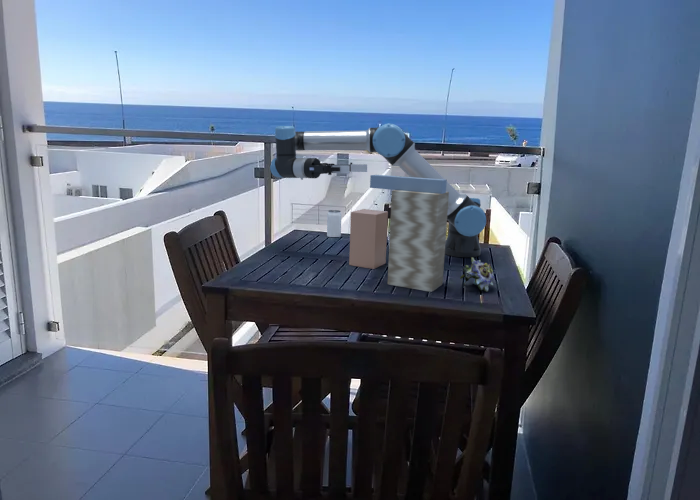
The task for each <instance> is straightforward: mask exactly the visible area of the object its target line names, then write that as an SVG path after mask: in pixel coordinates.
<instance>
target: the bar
mask: <svg viewBox="0 0 700 500" xmlns="http://www.w3.org/2000/svg"><path fill="white" fill-rule="evenodd" d="M447 182H448V180H447V179H446V178H444V179H431V178H417V177H409V176H398V175H386V174H385V175H384V174H370V178H369V183H370V184H369V188H371V189H380V190H391V191H393V190H402V191H414V192H426V193H438V194H443V193H446V184H447Z"/></svg>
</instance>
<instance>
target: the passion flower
mask: <svg viewBox="0 0 700 500" xmlns="http://www.w3.org/2000/svg"><path fill="white" fill-rule="evenodd" d="M470 258H471V265H467V264H466V265H464V267H463V268H462V272H463V274H462V275H461V276H460V277H459V278H460V280H462V279H464V280H463V281H464V282H463V286H464V287H465V285H466V282H468V281H470V279H473V284H474V285H475V286H477V287H478V289H479V290H480V291H484V292H489V286H491V287H492V286H494V283H493V280H495V279H494V278H495V277H494V271H493V268H492V264H491V263H487V262H482V261H481V259H479V260H478V259H477V260H475V257H470ZM469 266H470V267H469Z"/></svg>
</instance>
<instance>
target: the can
mask: <svg viewBox="0 0 700 500" xmlns="http://www.w3.org/2000/svg"><path fill="white" fill-rule="evenodd" d="M326 215H327V216H326V236H327V237H328V238H330V237H339V238H341V236H342V212H341V210H339V209H338V210H337V209H329V210H328V212H327V213H326Z"/></svg>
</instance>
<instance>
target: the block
mask: <svg viewBox="0 0 700 500" xmlns="http://www.w3.org/2000/svg"><path fill="white" fill-rule="evenodd" d="M388 216H389V212H388V211H386V210H385V211H384V210H378V209H376V210H375V209H369V208H362V209H359V210H358V209H357V210H353V211H351V212H350V226H349V227H350V231H349V257H348V258H349V260H348V266H354V267H359V268H365V269H373V270H374V269H377V268H379V267H382V266H384V265H385V264H386V258H387V242H388V241H387V238H388V221H389V220H388Z"/></svg>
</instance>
